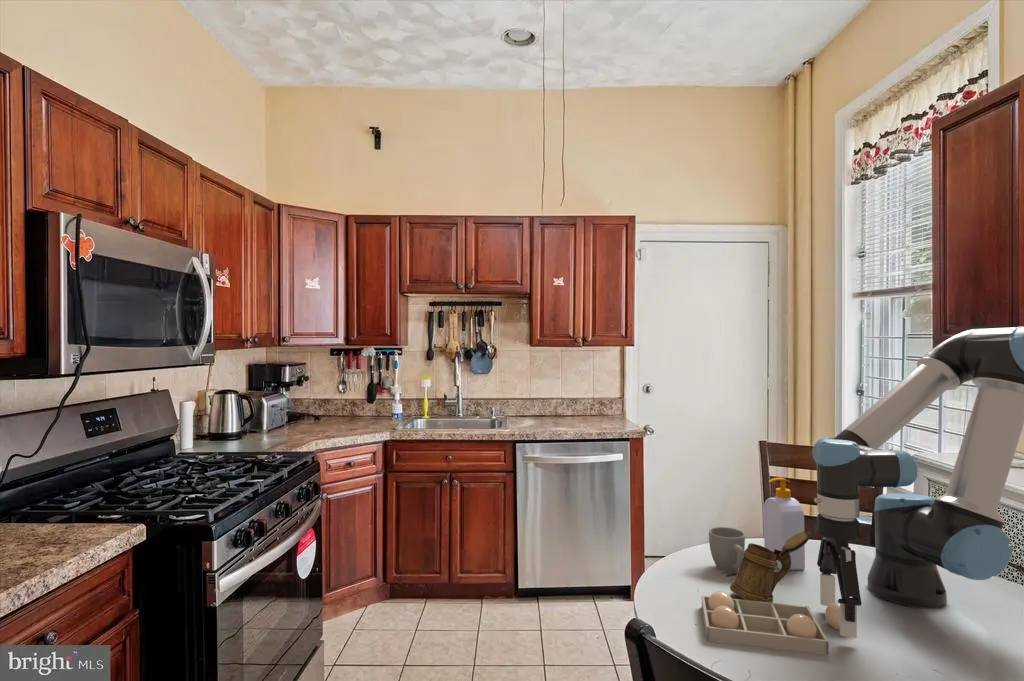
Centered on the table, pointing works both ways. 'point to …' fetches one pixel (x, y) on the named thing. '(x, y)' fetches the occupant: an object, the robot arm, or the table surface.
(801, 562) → the soap bottle
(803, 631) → the seated egg
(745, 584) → the wooden mug
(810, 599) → the table surface
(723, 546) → the mug
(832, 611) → the egg
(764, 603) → the carton
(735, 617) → the seated egg
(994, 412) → the robot arm
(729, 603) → the seated egg
